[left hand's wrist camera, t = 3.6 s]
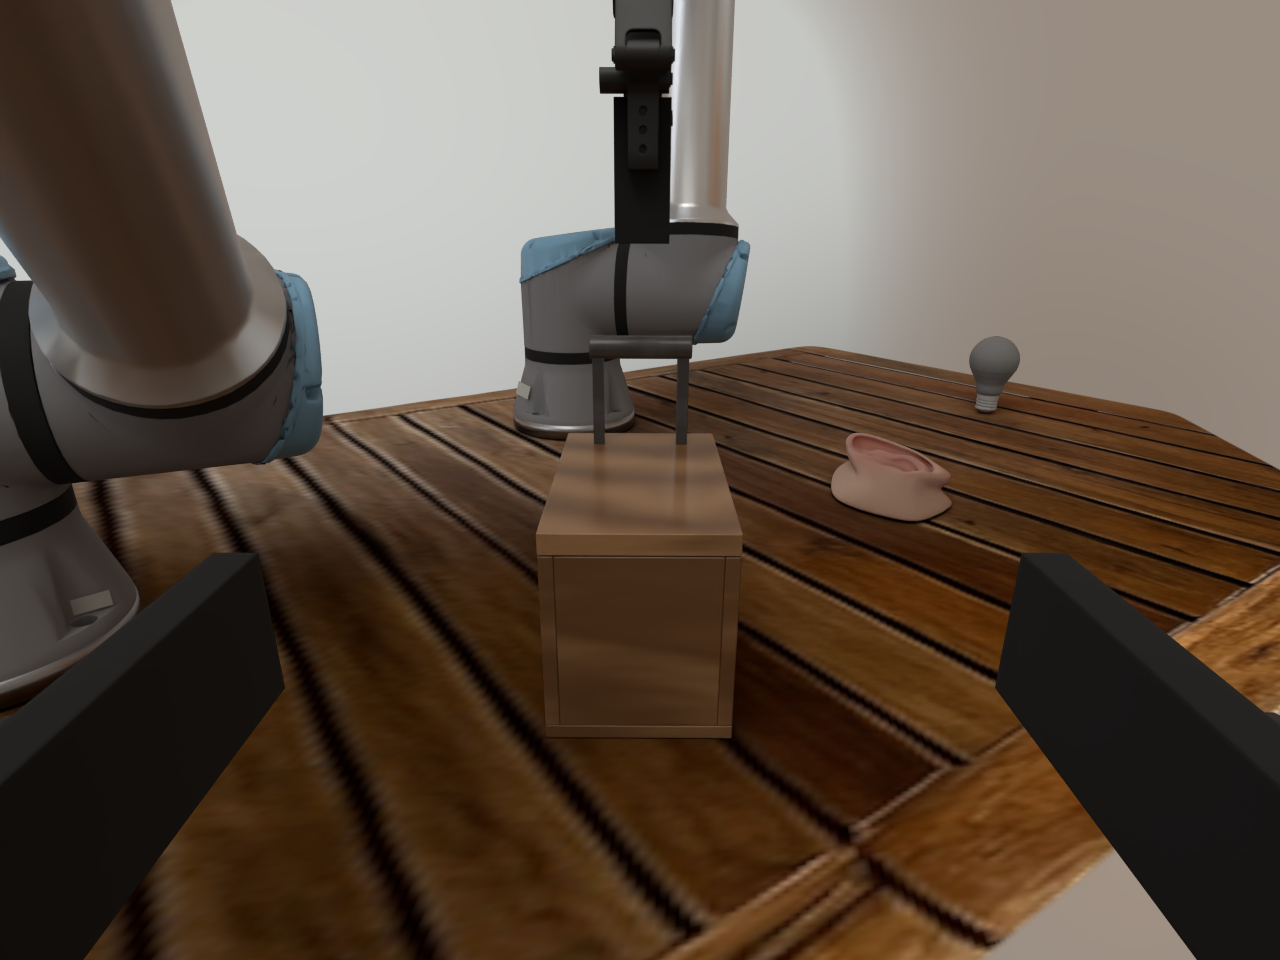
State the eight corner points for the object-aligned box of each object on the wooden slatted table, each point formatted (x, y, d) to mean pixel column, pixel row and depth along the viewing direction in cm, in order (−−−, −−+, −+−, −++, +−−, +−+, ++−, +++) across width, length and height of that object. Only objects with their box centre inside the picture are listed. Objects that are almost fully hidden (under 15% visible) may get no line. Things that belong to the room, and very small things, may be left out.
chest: (572, 593, 53) (567, 454, 49) (707, 593, 53) (712, 454, 49) (545, 737, 39) (537, 556, 35) (731, 738, 39) (741, 557, 35)
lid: (569, 449, 50) (565, 329, 47) (711, 449, 50) (716, 330, 47) (536, 555, 35) (528, 389, 32) (741, 556, 35) (751, 390, 32)
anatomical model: (954, 485, 62) (817, 465, 66) (947, 528, 63) (813, 506, 68) (962, 442, 73) (844, 427, 78) (956, 479, 75) (841, 463, 79)
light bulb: (967, 416, 97) (980, 340, 93) (956, 404, 102) (968, 332, 99) (1016, 418, 96) (1030, 341, 92) (1002, 406, 101) (1015, 333, 98)
